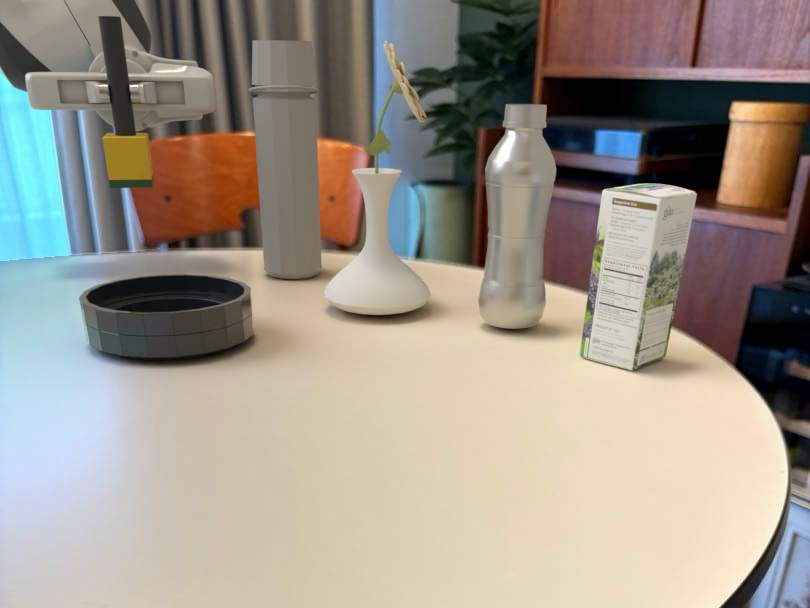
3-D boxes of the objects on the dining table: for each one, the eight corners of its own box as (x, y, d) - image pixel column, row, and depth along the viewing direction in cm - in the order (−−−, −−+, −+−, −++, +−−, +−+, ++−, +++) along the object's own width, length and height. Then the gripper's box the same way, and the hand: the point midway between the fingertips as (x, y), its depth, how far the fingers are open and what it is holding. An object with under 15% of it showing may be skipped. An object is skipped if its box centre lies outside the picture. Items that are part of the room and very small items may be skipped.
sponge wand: (110, 188, 90) (83, 14, 82) (113, 181, 95) (89, 17, 87) (152, 187, 91) (130, 15, 83) (154, 180, 96) (133, 18, 88)
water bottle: (329, 279, 101) (321, 41, 88) (264, 282, 99) (247, 39, 87) (318, 264, 109) (310, 42, 96) (258, 266, 107) (242, 41, 95)
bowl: (102, 374, 70) (93, 321, 67) (78, 328, 82) (70, 281, 79) (275, 352, 76) (271, 303, 73) (229, 312, 87) (225, 268, 85)
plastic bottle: (547, 336, 81) (570, 107, 71) (478, 335, 81) (491, 105, 71) (539, 319, 87) (559, 103, 77) (474, 318, 87) (486, 102, 77)
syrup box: (613, 345, 79) (636, 180, 72) (668, 359, 75) (699, 188, 68) (578, 357, 75) (599, 186, 68) (634, 373, 72) (662, 193, 65)
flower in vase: (410, 329, 83) (416, 37, 70) (307, 317, 86) (294, 36, 73) (447, 299, 94) (457, 41, 81) (353, 290, 97) (349, 40, 84)
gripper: (29, 57, 96) (8, 57, 84) (209, 60, 100) (213, 61, 88) (40, 118, 99) (21, 126, 87) (214, 119, 103) (219, 127, 91)
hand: (119, 93), depth 88 cm, fingers closed on sponge wand, 2 cm apart
